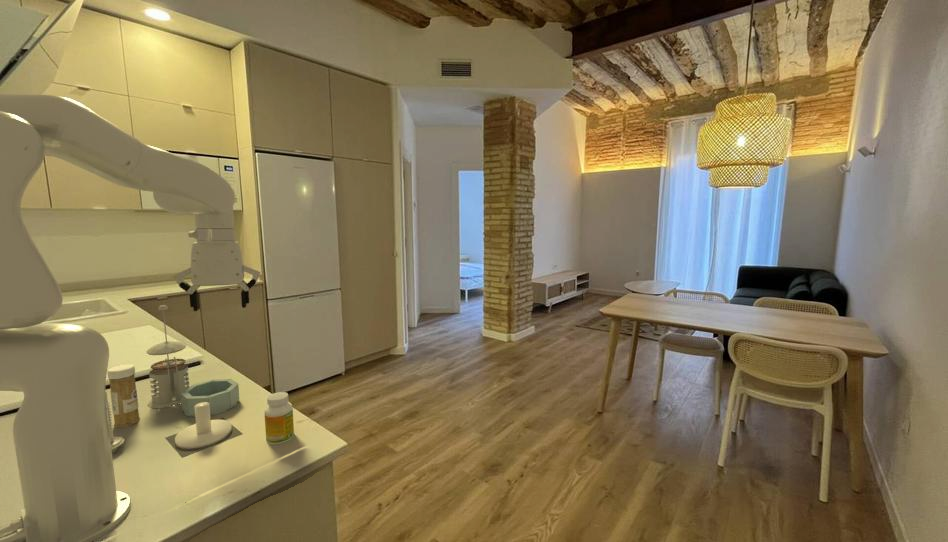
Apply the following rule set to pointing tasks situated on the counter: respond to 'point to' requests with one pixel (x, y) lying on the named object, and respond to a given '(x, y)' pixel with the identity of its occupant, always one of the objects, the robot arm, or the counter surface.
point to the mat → (187, 452)
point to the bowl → (211, 396)
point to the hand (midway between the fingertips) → (221, 308)
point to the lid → (203, 430)
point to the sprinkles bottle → (123, 395)
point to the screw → (115, 440)
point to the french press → (167, 373)
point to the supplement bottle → (279, 419)
